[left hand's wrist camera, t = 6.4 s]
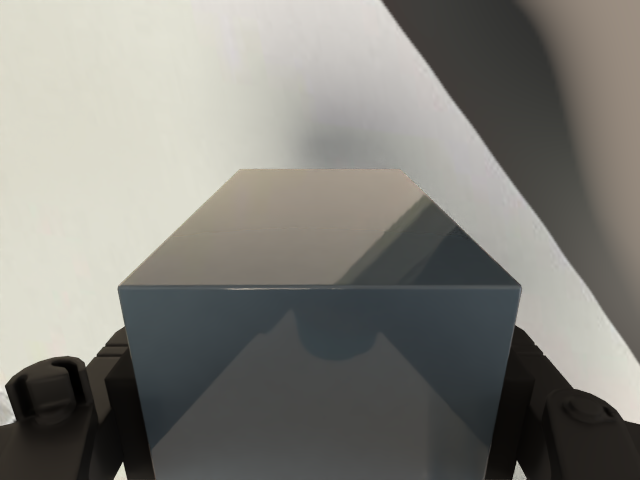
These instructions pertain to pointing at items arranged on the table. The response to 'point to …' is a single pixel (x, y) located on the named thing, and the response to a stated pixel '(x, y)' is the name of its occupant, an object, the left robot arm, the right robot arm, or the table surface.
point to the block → (319, 334)
